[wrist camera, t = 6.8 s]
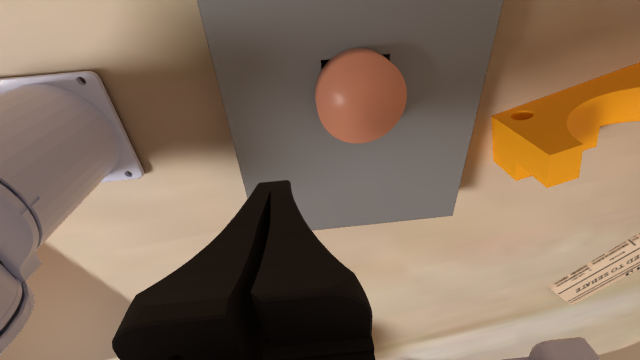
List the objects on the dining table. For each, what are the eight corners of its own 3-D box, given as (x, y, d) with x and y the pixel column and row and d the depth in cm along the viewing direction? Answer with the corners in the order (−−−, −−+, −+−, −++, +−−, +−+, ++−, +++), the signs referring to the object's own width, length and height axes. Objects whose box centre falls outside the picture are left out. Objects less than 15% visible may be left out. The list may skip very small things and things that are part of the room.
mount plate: (260, 212, 27) (257, 236, 24) (178, -142, 14) (154, -167, 12) (437, 194, 27) (452, 215, 25) (505, -164, 15) (549, -193, 12)
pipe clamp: (492, 159, 26) (545, 207, 20) (490, 115, 23) (549, 155, 18) (643, 108, 24) (744, 144, 19) (657, 54, 22) (777, 79, 16)
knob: (314, 117, 22) (320, 147, 18) (308, 43, 19) (313, 59, 15) (383, 111, 22) (402, 139, 18) (387, 36, 19) (411, 50, 15)
